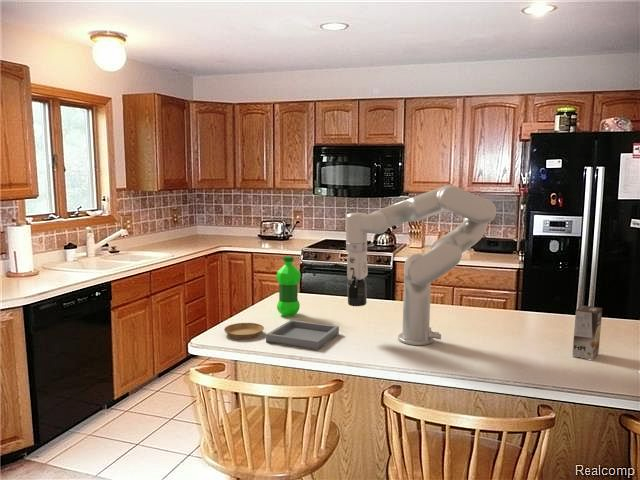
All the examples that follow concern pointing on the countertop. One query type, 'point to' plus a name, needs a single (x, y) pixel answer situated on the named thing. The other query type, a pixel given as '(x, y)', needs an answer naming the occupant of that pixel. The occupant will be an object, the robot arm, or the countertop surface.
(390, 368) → the countertop surface
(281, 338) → the tray
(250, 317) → the countertop surface
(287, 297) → the plastic bottle
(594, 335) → the coffee box
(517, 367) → the countertop surface
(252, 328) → the plant saucer
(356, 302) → the supplement bottle
